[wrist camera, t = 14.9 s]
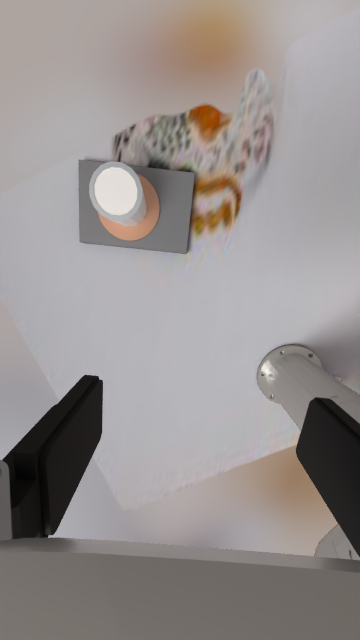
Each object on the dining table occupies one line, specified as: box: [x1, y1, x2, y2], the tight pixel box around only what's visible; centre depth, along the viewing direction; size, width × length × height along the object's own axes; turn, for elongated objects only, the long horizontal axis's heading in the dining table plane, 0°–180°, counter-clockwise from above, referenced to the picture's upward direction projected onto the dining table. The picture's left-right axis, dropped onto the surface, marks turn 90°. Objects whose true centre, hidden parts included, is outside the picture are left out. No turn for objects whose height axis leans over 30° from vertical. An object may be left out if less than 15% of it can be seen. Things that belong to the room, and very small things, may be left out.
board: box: [79, 160, 195, 254], centre depth 34 cm, size 18×12×2 cm, turn 84°
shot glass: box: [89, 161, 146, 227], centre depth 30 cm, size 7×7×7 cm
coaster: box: [98, 173, 160, 241], centre depth 33 cm, size 10×10×1 cm
